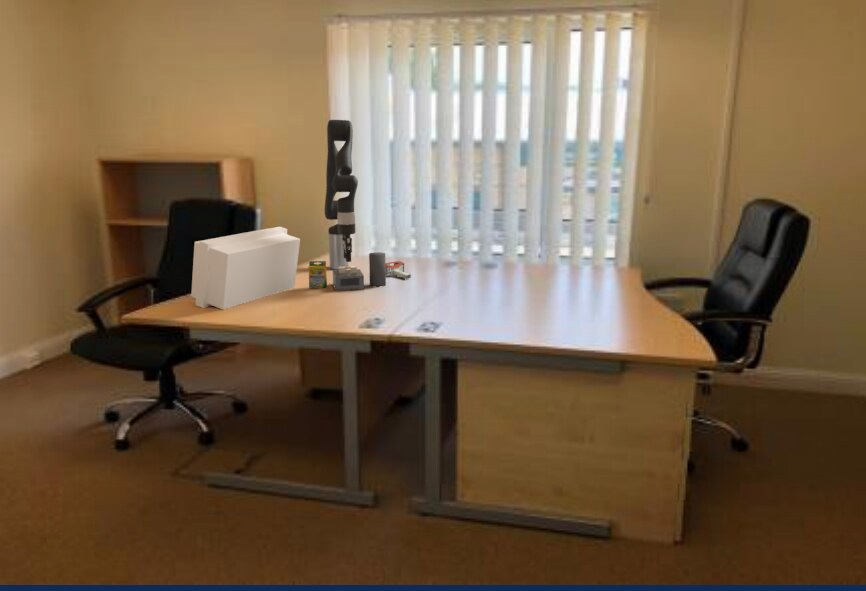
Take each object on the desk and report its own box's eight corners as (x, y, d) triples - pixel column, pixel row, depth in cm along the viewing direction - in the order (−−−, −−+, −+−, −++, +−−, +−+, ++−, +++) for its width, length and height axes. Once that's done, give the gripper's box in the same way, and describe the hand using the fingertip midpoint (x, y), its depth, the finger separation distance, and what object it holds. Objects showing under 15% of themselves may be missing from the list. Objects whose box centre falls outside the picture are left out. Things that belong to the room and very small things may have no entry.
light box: (266, 279, 306) (272, 224, 297) (296, 291, 299) (303, 234, 290) (187, 301, 267) (191, 238, 259) (219, 315, 260) (224, 250, 252)
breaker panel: (333, 283, 305) (332, 270, 303) (360, 282, 307) (359, 269, 306) (335, 290, 291) (335, 277, 290) (364, 289, 294) (363, 275, 292)
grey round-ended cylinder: (368, 283, 305) (368, 252, 301) (384, 282, 306) (383, 252, 303) (371, 287, 298) (370, 255, 295) (386, 286, 300) (386, 254, 296)
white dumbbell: (338, 272, 297) (338, 266, 296) (356, 271, 299) (356, 265, 298) (339, 273, 296) (339, 268, 295) (356, 272, 298) (356, 267, 297)
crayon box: (309, 288, 295) (308, 262, 292) (310, 287, 298) (308, 261, 295) (326, 288, 295) (325, 262, 292) (327, 287, 298) (326, 260, 295)
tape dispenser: (409, 284, 312) (415, 272, 331) (410, 272, 311) (416, 261, 330) (371, 281, 314) (380, 269, 333) (371, 270, 313) (380, 259, 332)
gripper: (336, 220, 299) (337, 257, 302) (339, 225, 285) (340, 263, 289) (353, 220, 300) (354, 256, 304) (357, 224, 287) (358, 262, 291)
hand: (347, 259), depth 296 cm, fingers open, 8 cm apart
